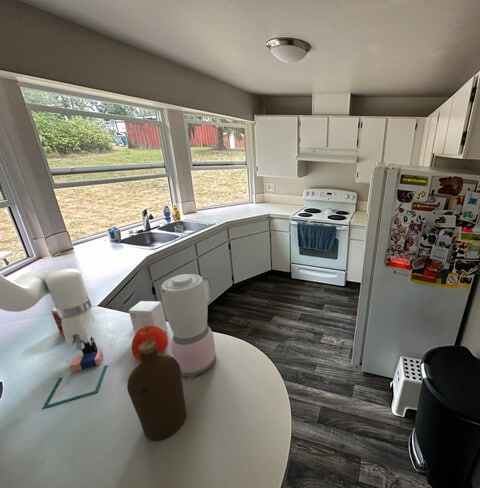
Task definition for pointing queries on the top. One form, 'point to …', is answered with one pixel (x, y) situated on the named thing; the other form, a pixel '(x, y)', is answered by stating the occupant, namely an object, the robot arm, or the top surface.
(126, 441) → the top surface
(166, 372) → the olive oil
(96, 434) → the top surface
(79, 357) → the eraser
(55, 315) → the canned food
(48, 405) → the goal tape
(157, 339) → the apple
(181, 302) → the blender
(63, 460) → the top surface
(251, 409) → the top surface
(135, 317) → the small box
